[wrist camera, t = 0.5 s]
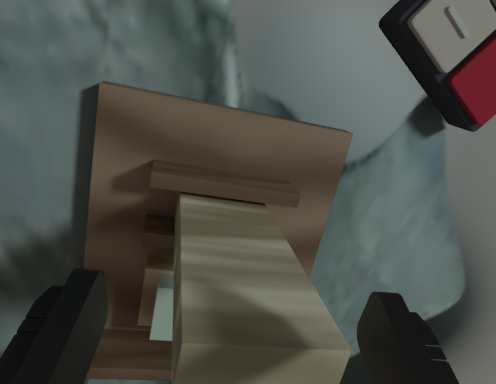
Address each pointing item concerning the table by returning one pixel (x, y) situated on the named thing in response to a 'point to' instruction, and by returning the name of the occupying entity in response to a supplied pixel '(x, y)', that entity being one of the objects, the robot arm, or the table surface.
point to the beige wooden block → (245, 301)
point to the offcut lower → (152, 286)
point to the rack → (192, 181)
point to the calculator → (449, 54)
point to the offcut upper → (163, 309)
